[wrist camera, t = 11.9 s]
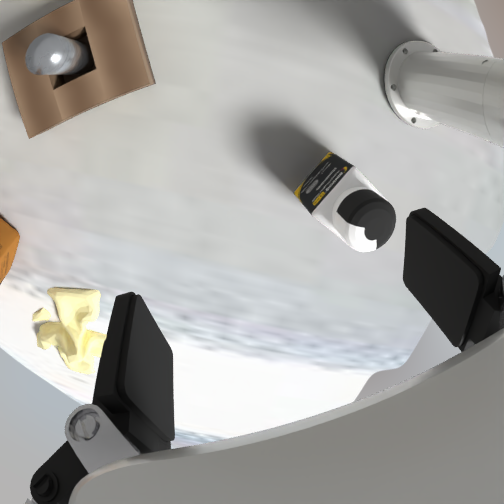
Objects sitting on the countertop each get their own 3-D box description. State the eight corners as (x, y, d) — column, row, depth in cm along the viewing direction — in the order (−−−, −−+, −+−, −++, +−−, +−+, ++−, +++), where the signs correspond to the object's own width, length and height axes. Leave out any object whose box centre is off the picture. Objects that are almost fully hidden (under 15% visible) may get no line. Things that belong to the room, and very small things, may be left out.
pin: (91, 38, 25) (57, 25, 16) (99, 66, 26) (67, 62, 18) (62, 52, 24) (21, 46, 16) (70, 80, 26) (30, 82, 18)
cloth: (77, 264, 40) (65, 290, 34) (155, 344, 49) (154, 373, 44) (2, 321, 42) (-10, 346, 36) (72, 382, 51) (66, 407, 46)
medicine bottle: (329, 149, 37) (378, 181, 27) (363, 183, 40) (414, 222, 30) (292, 192, 39) (328, 237, 29) (329, 222, 43) (370, 271, 32)
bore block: (130, -8, 23) (121, -20, 19) (155, 83, 30) (149, 83, 26) (22, 44, 23) (1, 43, 19) (47, 130, 29) (29, 138, 25)
